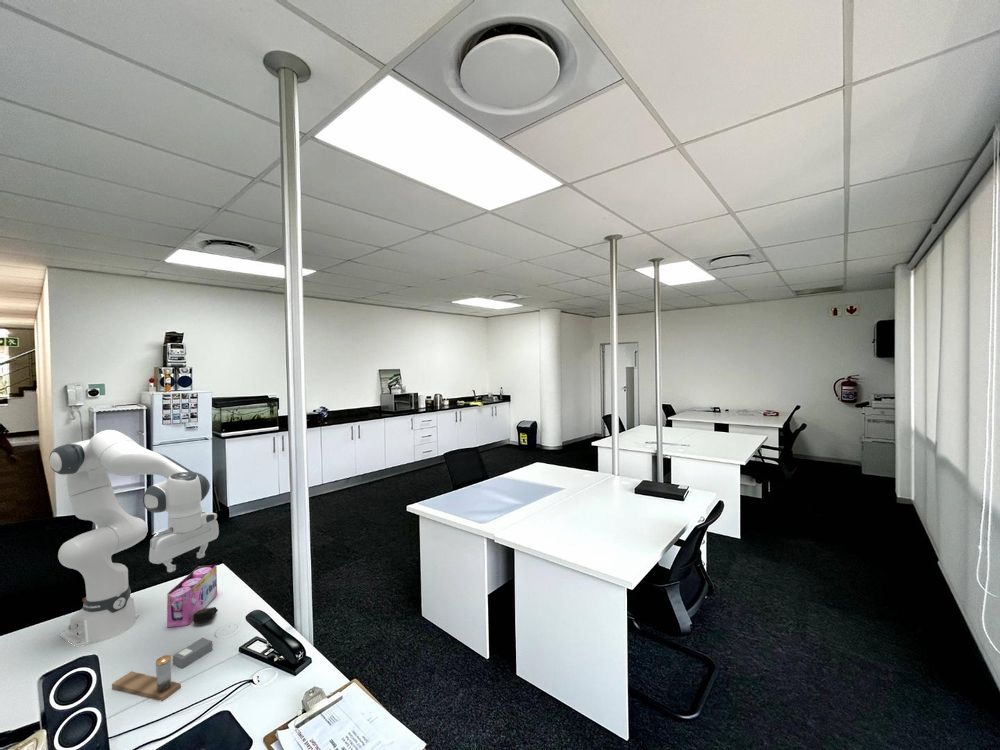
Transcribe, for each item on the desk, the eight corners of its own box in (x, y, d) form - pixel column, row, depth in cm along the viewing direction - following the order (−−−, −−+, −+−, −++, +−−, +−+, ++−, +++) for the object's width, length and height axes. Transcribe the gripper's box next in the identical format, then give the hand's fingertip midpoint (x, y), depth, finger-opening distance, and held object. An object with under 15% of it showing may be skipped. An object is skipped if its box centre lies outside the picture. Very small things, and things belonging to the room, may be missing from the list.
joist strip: (112, 691, 117) (111, 683, 117) (131, 678, 122) (131, 671, 122) (162, 705, 112) (162, 697, 112) (180, 691, 117) (180, 683, 117)
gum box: (187, 627, 146) (186, 593, 146) (164, 630, 145) (163, 596, 145) (217, 593, 168) (217, 564, 168) (198, 596, 167) (197, 566, 167)
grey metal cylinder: (153, 691, 114) (152, 662, 114) (166, 682, 117) (165, 654, 117) (162, 694, 113) (161, 664, 113) (174, 684, 117) (173, 656, 116)
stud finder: (172, 667, 127) (172, 654, 127) (202, 649, 135) (202, 636, 135) (182, 672, 125) (182, 658, 125) (212, 652, 133) (212, 640, 133)
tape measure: (211, 621, 148) (211, 610, 148) (189, 626, 145) (189, 615, 146) (217, 615, 154) (217, 605, 155) (196, 620, 151) (196, 610, 152)
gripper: (158, 536, 120) (159, 581, 120) (221, 512, 139) (222, 551, 140) (142, 534, 121) (144, 579, 121) (207, 510, 141) (208, 549, 141)
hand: (186, 564), depth 131 cm, fingers open, 8 cm apart
